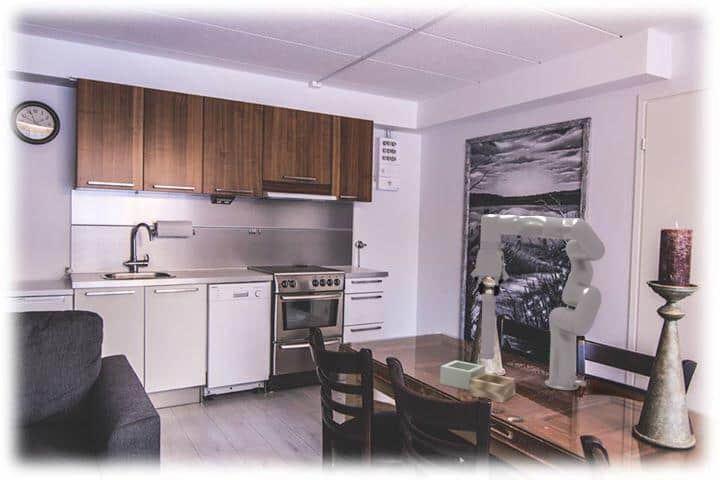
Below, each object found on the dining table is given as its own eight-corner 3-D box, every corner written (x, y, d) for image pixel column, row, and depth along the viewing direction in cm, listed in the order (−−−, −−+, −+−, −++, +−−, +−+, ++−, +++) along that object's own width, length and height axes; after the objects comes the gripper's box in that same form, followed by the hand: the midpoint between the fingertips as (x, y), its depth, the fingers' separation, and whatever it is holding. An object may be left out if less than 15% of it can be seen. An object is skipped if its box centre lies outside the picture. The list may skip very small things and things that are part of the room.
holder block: (484, 383, 214) (484, 365, 214) (470, 390, 203) (471, 372, 203) (454, 376, 222) (455, 360, 221) (440, 383, 211) (440, 366, 211)
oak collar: (515, 394, 200) (515, 378, 200) (502, 403, 190) (502, 386, 190) (482, 387, 208) (483, 372, 208) (468, 395, 197) (469, 379, 197)
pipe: (495, 360, 198) (497, 280, 197) (478, 358, 199) (480, 279, 199) (494, 356, 204) (496, 278, 203) (477, 355, 205) (479, 278, 204)
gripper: (516, 248, 199) (514, 296, 199) (473, 246, 208) (471, 292, 209) (509, 248, 192) (507, 298, 193) (465, 246, 202) (463, 293, 203)
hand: (488, 294), depth 201 cm, fingers closed on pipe, 5 cm apart
